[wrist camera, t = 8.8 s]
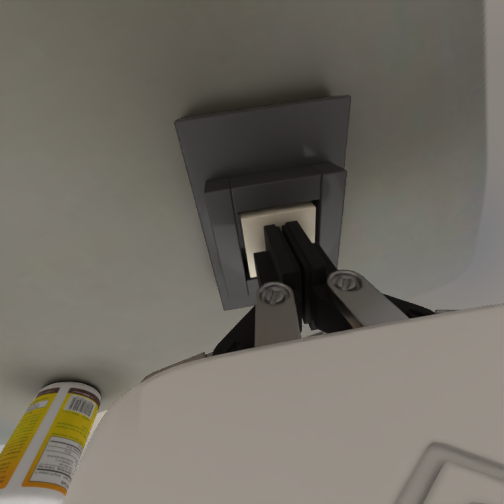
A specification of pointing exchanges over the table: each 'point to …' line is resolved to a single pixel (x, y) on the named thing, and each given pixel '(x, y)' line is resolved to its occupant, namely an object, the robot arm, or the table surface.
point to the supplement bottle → (47, 444)
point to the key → (278, 216)
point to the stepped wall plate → (264, 177)
